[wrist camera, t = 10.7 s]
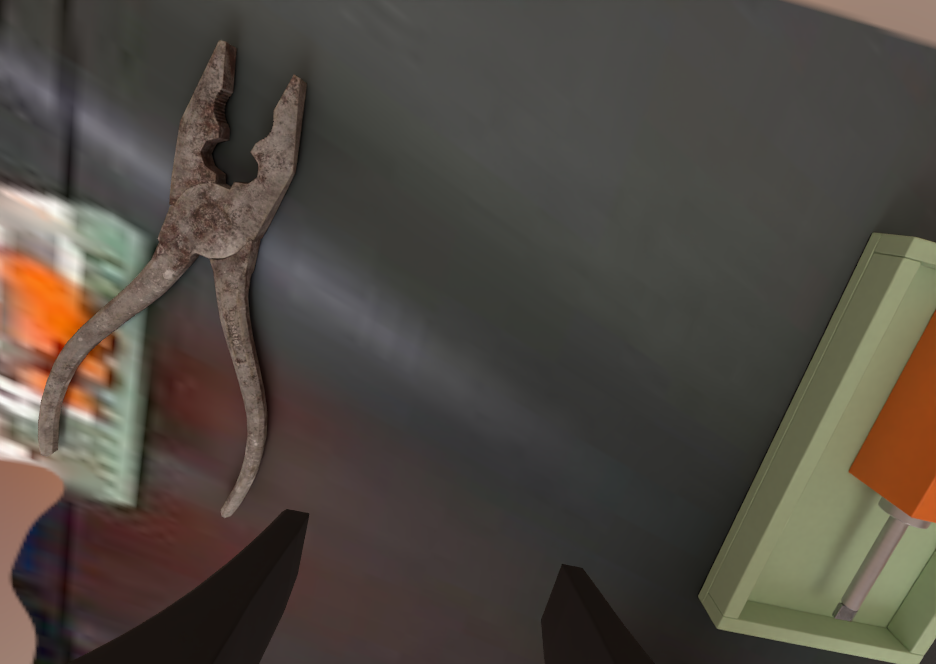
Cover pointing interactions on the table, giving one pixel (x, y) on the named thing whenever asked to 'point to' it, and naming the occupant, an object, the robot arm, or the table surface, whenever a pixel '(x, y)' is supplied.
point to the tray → (836, 484)
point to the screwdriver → (899, 465)
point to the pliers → (204, 248)
